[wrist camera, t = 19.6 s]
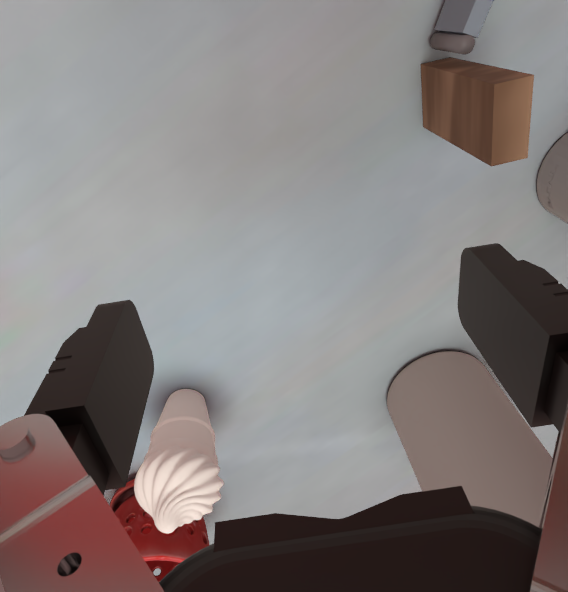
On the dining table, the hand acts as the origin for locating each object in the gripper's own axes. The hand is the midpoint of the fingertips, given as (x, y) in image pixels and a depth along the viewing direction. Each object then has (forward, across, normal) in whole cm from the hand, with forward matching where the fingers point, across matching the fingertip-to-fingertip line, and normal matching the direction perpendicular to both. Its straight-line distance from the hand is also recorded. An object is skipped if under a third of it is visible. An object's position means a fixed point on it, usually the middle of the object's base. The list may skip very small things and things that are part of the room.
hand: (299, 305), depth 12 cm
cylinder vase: (+32, -16, +36) cm, 51 cm away
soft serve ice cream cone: (+31, +14, +31) cm, 46 cm away
